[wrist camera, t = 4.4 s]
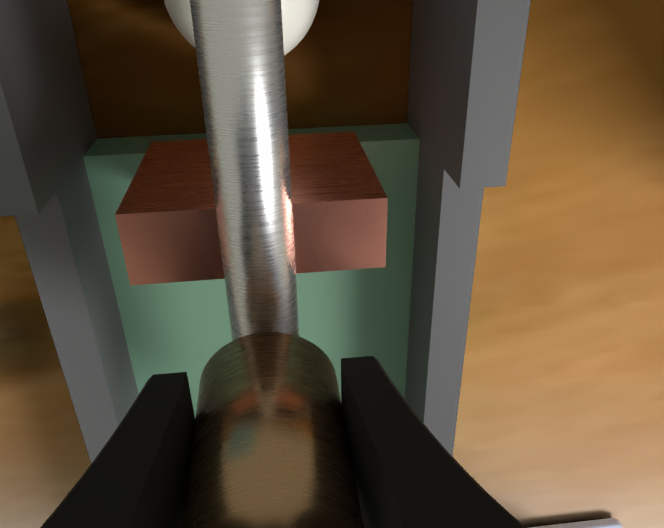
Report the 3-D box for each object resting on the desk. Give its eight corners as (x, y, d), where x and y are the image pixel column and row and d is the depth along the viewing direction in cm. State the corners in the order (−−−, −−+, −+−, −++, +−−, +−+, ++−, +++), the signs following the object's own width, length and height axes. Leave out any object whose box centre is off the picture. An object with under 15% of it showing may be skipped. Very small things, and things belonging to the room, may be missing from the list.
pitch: (428, 503, 25) (465, 626, 21) (140, 535, 24) (114, 671, 20) (496, -210, 13) (616, -281, 9) (-65, -211, 12) (-246, -293, 8)
